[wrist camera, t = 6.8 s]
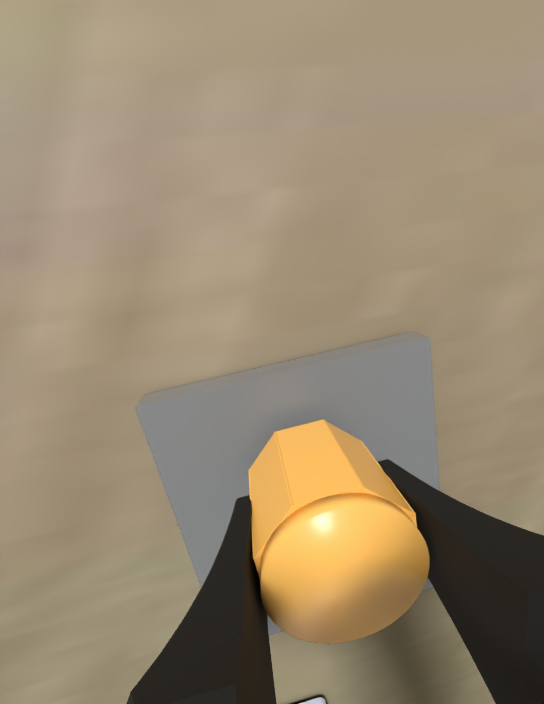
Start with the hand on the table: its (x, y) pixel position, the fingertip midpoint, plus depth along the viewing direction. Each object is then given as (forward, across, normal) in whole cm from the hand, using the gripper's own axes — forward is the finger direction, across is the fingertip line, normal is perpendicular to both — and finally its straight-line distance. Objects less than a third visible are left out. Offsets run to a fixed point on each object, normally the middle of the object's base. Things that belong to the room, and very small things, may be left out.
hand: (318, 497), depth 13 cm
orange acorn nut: (+1, 0, 0) cm, 1 cm away
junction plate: (+4, 0, +3) cm, 5 cm away
